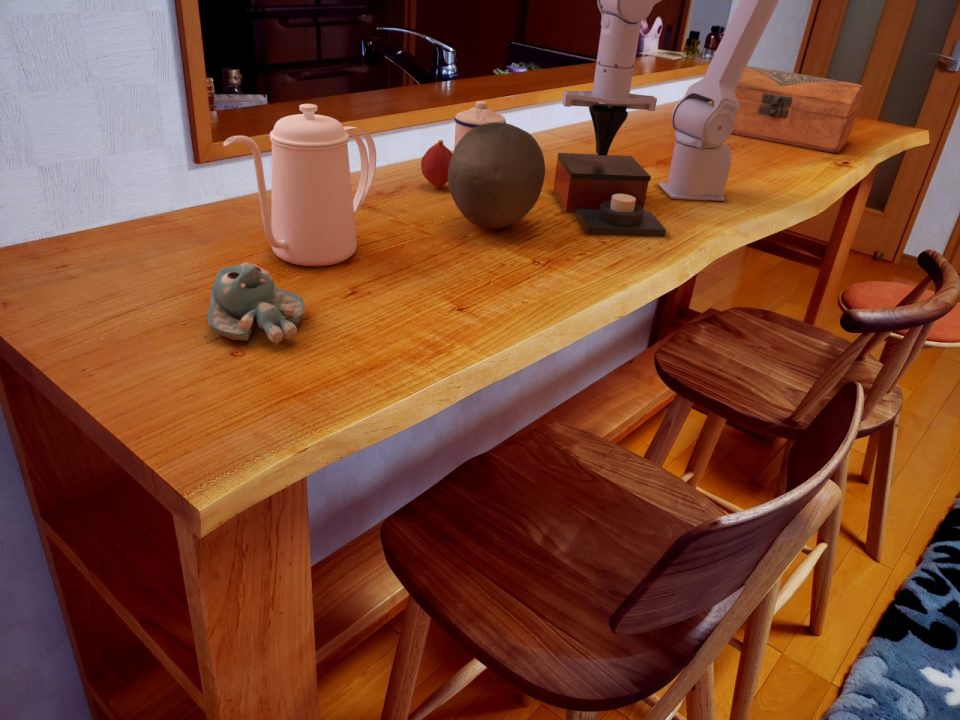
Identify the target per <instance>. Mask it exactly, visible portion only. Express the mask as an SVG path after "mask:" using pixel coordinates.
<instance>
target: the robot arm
mask: <svg viewBox="0 0 960 720" xmlns="http://www.w3.org/2000/svg"><path fill="white" fill-rule="evenodd" d="M661 1H662V0H597V1H596V3H597V8H598V10H599V12H600V15H601V19H600V26H601V27H600V35H599V41H598V49H597V56H596V63H595V70H594V71H595V72H594V76H593V85H592V90H578V91H577V90H576V91H575V90H574V91H573V90H570V91H569V90H564V91H563V95H562V103H561V105H563V106H564V107H566V108H567V107H568V108H569V107H585V108H586V107H587V108H588V111H589V114H590V117H591V121H592V126H593V130H594V137H595V154H598V155H603V156H607V155H609V151H610V148H611V146H612V143H613V141H614V139H615V138H616V135H617V134H618V132H619V130H620V128H621V127H622V125H623V124H624V123H625V121H626V120H627V118H628V115H629V112H628V111H627V110H641V111H642V110H643V111H648V112H655V111H656V107H657V102H658V98H657V97H655V96H654V95H645V94H637V93H630V92H631V87H632V81H633V76H634V69H635V64H636V57H637V52H638V46H639V45H638V44H639V40H640V39H639V38H640V33H641V28H642V21H645V20H646V19H647V18H648V17H649V16H650V14H651V12H652V10H653V8H654V6H655V5H657V4H658V3H660V2H661ZM779 2H780V0H739V2H738V4H737V7H736V9H735V11H734V12H733V15H732V17H731V19H730V21H729V23H728V25H727V27H726V29H725V31H724V34H723V36H722V38H721V39H720V42H719V44H718V46H717V48H716V50H715V53H714V54H713V56H712V58H711V61H710V63H709V65H708V67H707V70H706V71H705V73H704V75H703V77H702V78H701V79H700V80H697V81H696V82H694V83H693V84H691V85H689V86H688V88H687V90H686V92H685V94H684V95H683V97H682V98H681V99H680V100H679V101H677V102H676V104H675V106H674V107H673V109H672V111H671V116H670V124H671V127H672V129H673V130H674V131H675V132H674V138H675V141H674V142H675V143H674V148H673V153H672V157H671V162H670V167H669V173H668V177H667V180H666V181H667V182H664V181H663V182H662V181H659V182H658V186H659V187H660V189H662V190H663V191H664V192H665V193H666V194H667V195H668V197H670V198H671V199H672V200H692V201H693V200H694V201H715V202H716V201H717V202H718V201H719V202H721V201H722V202H724V201H725V197H724V193H725V190H726V186H727V182H728V178H729V173H730V169H731V165H732V150H731V148H730V146H729V145H728V144H725V142H726V141H727V140H728V139H729V138H730V137H731V135H732V134H731V133H732V131H733V128H734V121H735V117H736V114H737V112H738V110H739V108H740V106H739V103H738V100H737V98H736V95H735V92H734V90H735V88H736V86H737V84H738V82H739V80H740V78H741V76H742V74H743V72H744V70H745V68H746V66H748V65H749V62H750V60H751V58H752V56H753V54H754V52H755V50H756V49H757V46H758V44H759V42H760V40H761V38H762V36H763V34H764V32H765V30H766V29H767V28H766V27H767V26H768V23H769V22H770V20H771V18H772V16H773V14H774V12H775V9H776V8H777V6H778V4H779ZM712 102H714V105H713V104H712Z"/></svg>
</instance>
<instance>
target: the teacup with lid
mask: <svg viewBox="0 0 960 720" xmlns="http://www.w3.org/2000/svg"><path fill="white" fill-rule="evenodd" d="M453 119H454V123H455V131H454V148H453V150H454V149H455V147H456V145H457V144H458V142H459V141H460V140H461V139H462V138H463V136H464V135H465V134H466V133H467V132H468V131H470V130H471V129H473V128H475V127H477V126H480V125H483V124H488V123H507V120H506V118H505V116H503V115H502V114H499V113H497V112H496V111H494V110H493V109H492V108H490V107H488V103H487V101H485V100H477V101H476V102H475V106H472V107H470V108H468V109H466V110H462V111H459V112H457V113H456V114H455V117H454V118H453Z"/></svg>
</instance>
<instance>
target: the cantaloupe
mask: <svg viewBox="0 0 960 720" xmlns="http://www.w3.org/2000/svg"><path fill="white" fill-rule="evenodd" d="M452 154H453V155H452V158H451V161H450V164H449V169H448V182H447V183H448V189H449V192H450V196H451V198H452V200H453V202H454V204H455V206H456V207H457V209H458V211H459V212H460V213H461V214H462V215H463V217H464V218H465V219H466V220H467V221H469V222H470V223H472V224H474V225H475V226H477V227H480V228H484V229H491V230H495V229H500V228H504V227H507V226H509V225H513V224H515V223H517V222H519V221H521V220H522V219H523V218H524V217H526V216H527V214H529V212H531V210H532V209H533V208H534V207H535V206H536V204H537V202H538V200H539V198H540V195H541V194H542V190H543V186H544V182H545V177H546V162H545V156H544V154H543V150H542V148H541V146H540V144H539V143H538V141H537V140H536V139H535V137H533V135H532V134H530V132H528V131H526V130H524V129H522V128H520V127H518V126H515V125H513V124H511V123H507V122H506V123H488V124H483V125H480V126H477V127H475V128H473V129H471V130H470V131H468V132H467V133H466V134H465V135H464V136H463V138H462V139H461V140H460V141H459V142H458V144H457V145H456V147H455V149H454V148H453V152H452Z"/></svg>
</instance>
